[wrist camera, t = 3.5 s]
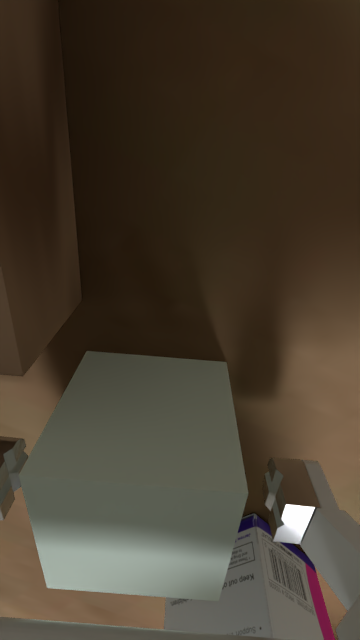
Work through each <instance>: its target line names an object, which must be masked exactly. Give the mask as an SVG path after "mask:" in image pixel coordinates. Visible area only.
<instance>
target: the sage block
mask: <svg viewBox="0 0 360 640" xmlns="http://www.w3.org/2000/svg"><path fill="white" fill-rule="evenodd" d="M19 479H20V483H21V487H22V490H23V494H24V498H25V502H26V506H27V510H28V514H29V518H30V522H31V526H32V530H33V534H34V538H35V542H36V546H37V549H38V553H39V557H40V561H41V565H42V569H43V573H44V577H45V581H46V585H47V588H55V589H68V590H80V591H93V592H106V593H118V594H131V595H144V596H156V597H169V598H182V599H194V600H207V601H219V598H220V595H221V591H222V588H223V584H224V580H225V577H226V573H227V569H228V566H229V562H230V558H231V555H232V551H233V548H234V544H235V540H236V537H237V533H238V529H239V526H240V522H241V519H242V515H243V511H244V508H245V504H246V500H247V497H248V488H247V482H246V476H245V470H244V464H243V458H242V452H241V446H240V440H239V434H238V428H237V422H236V416H235V410H234V404H233V398H232V392H231V386H230V380H229V374H228V368H227V362H220V361H207V360H195V359H182V358H170V357H157V356H145V355H132V354H120V353H107V352H94V351H86V353H85V355H84V357H83V359H82V360H81V362H80V364H79V366H78V368H77V370H76V371H75V373H74V375H73V377H72V379H71V381H70V382H69V384H68V386H67V388H66V390H65V391H64V393H63V395H62V397H61V399H60V401H59V402H58V404H57V406H56V408H55V410H54V412H53V413H52V415H51V417H50V419H49V421H48V423H47V424H46V426H45V428H44V430H43V432H42V433H41V435H40V437H39V439H38V441H37V443H36V444H35V446H34V448H33V450H32V452H31V454H30V455H29V457H28V459H27V461H26V463H25V465H24V466H23V468H22V470H21V472H20V474H19Z"/></svg>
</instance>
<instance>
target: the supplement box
mask: <svg viewBox="0 0 360 640" xmlns="http://www.w3.org/2000/svg"><path fill="white" fill-rule="evenodd" d="M164 630H175V631H188V632H201V633H214V634H227V635H239V636H252V637H265V638H278V639H290V640H335V638H334V634H333V631H332V627H331V623H330V620H329V616H328V613H327V609H326V606H325V602H324V599H323V595H322V592H321V588H320V585H319V581H318V578H317V574H316V570H315V566H314V564H313V563H312V561H311V560H310V559H309V557H308V556H306V555H305V554H304V553H302V552H301V551H300V550H299V549H298V548H296V547H295V546H294V545H293V544H291V543H284V542H275V541H273V539H272V534H271V530H270V526H269V525H268V524H267V523H266V522H265V521H263V520H262V519H261V518H260V517H259V516H257V515H256V514H251V515H248V516H245V517H243V518H242V519H241V522H240V526H239V529H238V533H237V537H236V540H235V544H234V548H233V551H232V555H231V558H230V562H229V566H228V569H227V573H226V577H225V580H224V584H223V588H222V591H221V595H220V598H219V601H207V600H194V599H182V598H169V597H166V603H165V620H164Z"/></svg>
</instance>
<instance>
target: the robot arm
mask: <svg viewBox="0 0 360 640" xmlns="http://www.w3.org/2000/svg"><path fill="white" fill-rule="evenodd" d="M25 447H26V444H25V440H24V439H22V438H13V437H3V436H0V520H4V519H5V517H6V515H7V513H8V511H9V509H10V507H11V506H12V504H13V502H14V500H15V497H14V491H16V490H17V489H18V488H20V487H21V483H20V479H19V474H20V472H21V470H22V468H23V466H24V465H25V463H26V461H27V459H28V455H27V454H26V453H25V452H24V449H25ZM268 469H269V472H267V473H266V474H265V476H264V480H263V496H264V502H265V505H266V506H267V508H268V509H269V510H270V515H269V518H268V521H269V525H270V530H271V534H272V539H273V541H275V542H284V543H294V544H301V545H300V546H301V547H302V549H303V550H304V552H305V553H306V554H307V556H308V557H309V559H310V560H311V561H312V563H313V564H314V565H315V567H316V568H317V570H318V571H319V572H320V574H321V575H322V576H323V578H324V579H325V581H326V582H327V583H328V585H329V586H330V588H331V589H332V590H333V592H334V593H335V594H336V596H337V597H338V599H339V600H340V601H341V603H342V604H343V605H344V607H345V608H346V610H347V613H346V614H345V616H344V617H343V619H342V620H341V622H340V623H339V625H338V627H337V628H336V633H337V636H338V640H360V525H359V524H358V523H357V522H356V521H355V520H354V519H353V518H352V517H351V516H350V515H349V514H348V513H347V512H346V511H344V510H339V507H338V505H337V503H336V500H335V498H334V496H333V493H332V491H331V489H330V486H329V484H328V482H327V479H326V477H325V475H324V472H323V470H322V468H321V465H320V464H319V462H318V461H311V460H300V459H287V458H270V459H269V462H268ZM0 640H290V639H278V638H265V637H252V636H239V635H227V634H214V633H201V632H188V631H175V630H163V629H150V628H137V627H124V626H112V625H99V624H86V623H73V622H60V621H48V620H35V619H22V618H9V617H0Z"/></svg>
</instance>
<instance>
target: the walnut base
mask: <svg viewBox="0 0 360 640" xmlns="http://www.w3.org/2000/svg"><path fill="white" fill-rule="evenodd" d="M81 301H82V293H81V281H80V268H79V256H78V243H77V231H76V219H75V206H74V194H73V181H72V169H71V157H70V144H69V132H68V119H67V107H66V94H65V82H64V70H63V57H62V45H61V32H60V20H59V8H58V0H0V375H12V376H24V375H25V373H26V372H27V371H28V369H29V368H30V367H31V366H32V364H33V363H34V362H35V360H36V359H37V358H38V356H39V355H40V354H41V353H42V351H43V350H44V349H45V347H46V346H47V345H48V344H49V342H50V341H51V340H52V338H53V337H54V336H55V335H56V333H57V332H58V331H59V329H60V328H61V327H62V326H63V324H64V323H65V322H66V320H67V319H68V318H69V316H70V315H71V314H72V313H73V311H74V310H75V309H76V307H77V306H78V305H79V304H80V302H81Z"/></svg>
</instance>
